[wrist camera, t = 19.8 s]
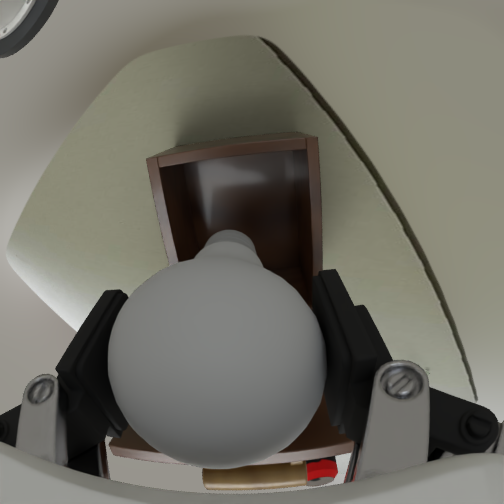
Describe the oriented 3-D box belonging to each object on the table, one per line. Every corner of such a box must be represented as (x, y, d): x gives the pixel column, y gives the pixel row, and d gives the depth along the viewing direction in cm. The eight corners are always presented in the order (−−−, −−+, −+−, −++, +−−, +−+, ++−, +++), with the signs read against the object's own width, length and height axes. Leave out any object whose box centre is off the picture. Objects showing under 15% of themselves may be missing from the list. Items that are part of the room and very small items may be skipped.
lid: (107, 444, 10) (142, 504, 11) (394, 430, 10) (377, 493, 10) (185, 326, 27) (194, 373, 27) (322, 313, 26) (324, 362, 27)
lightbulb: (160, 198, 14) (21, 363, 4) (285, 180, 14) (375, 353, 4) (186, 301, 16) (139, 487, 7) (294, 290, 16) (335, 485, 6)
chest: (173, 146, 28) (145, 158, 20) (298, 131, 28) (318, 136, 20) (199, 279, 35) (186, 327, 27) (306, 268, 35) (322, 314, 27)
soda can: (321, 420, 50) (331, 472, 39) (334, 433, 52) (344, 479, 42) (287, 432, 51) (292, 482, 40) (303, 444, 54) (308, 489, 43)
